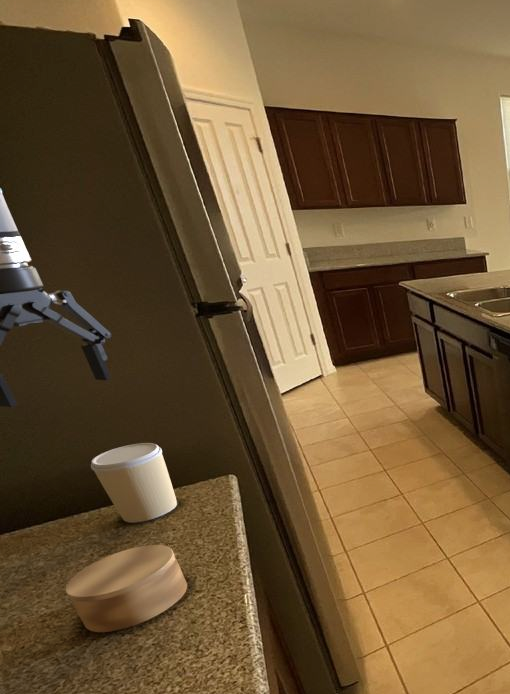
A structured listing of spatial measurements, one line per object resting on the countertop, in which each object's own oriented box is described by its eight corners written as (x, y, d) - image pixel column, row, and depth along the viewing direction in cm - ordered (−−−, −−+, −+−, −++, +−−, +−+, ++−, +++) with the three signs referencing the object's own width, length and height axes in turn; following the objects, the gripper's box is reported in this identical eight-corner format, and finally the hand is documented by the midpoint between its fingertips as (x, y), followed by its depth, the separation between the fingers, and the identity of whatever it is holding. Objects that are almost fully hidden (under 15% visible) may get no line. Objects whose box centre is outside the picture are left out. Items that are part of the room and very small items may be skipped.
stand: (64, 641, 68) (43, 605, 66) (113, 586, 78) (96, 553, 75) (165, 620, 71) (148, 586, 69) (200, 570, 81) (187, 538, 78)
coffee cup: (170, 493, 103) (147, 438, 98) (191, 505, 98) (168, 448, 94) (108, 516, 95) (80, 457, 91) (128, 531, 91) (99, 470, 86)
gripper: (-102, 277, 71) (-23, 420, 79) (106, 258, 93) (151, 371, 101) (-140, 277, 72) (-58, 417, 80) (74, 258, 95) (121, 369, 103)
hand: (59, 391), depth 91 cm, fingers open, 13 cm apart
